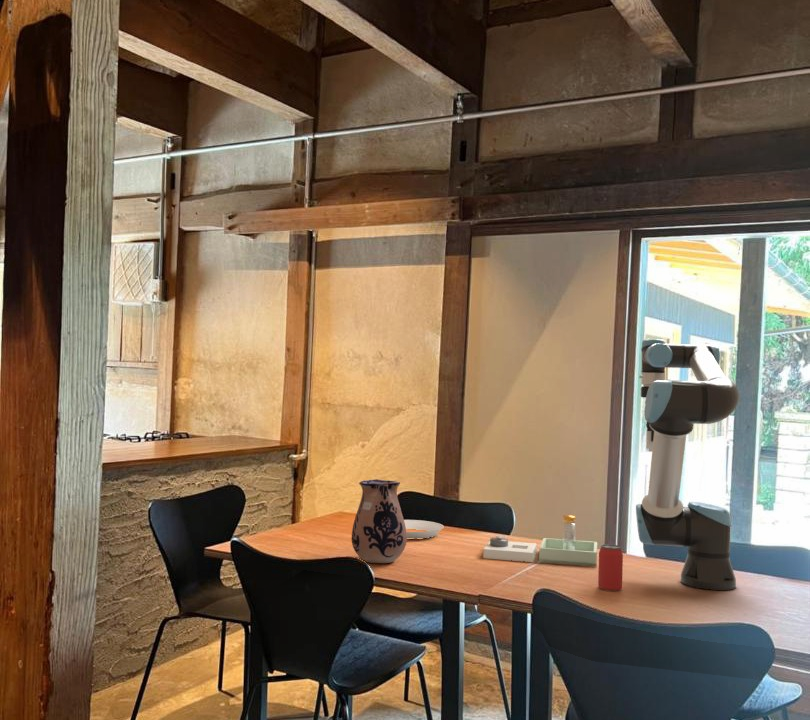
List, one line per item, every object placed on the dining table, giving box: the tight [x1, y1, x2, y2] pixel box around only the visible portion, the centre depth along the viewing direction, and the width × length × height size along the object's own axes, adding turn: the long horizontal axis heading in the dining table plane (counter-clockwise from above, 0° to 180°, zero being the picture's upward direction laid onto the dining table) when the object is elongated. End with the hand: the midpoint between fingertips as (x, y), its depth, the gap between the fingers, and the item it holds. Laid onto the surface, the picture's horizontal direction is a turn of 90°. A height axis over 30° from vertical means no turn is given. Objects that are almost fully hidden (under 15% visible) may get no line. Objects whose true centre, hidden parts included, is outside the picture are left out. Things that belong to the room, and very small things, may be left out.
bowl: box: [404, 519, 444, 539], centre depth 296 cm, size 25×25×4 cm
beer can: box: [597, 543, 624, 592], centre depth 224 cm, size 7×7×12 cm
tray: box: [538, 537, 598, 567], centre depth 262 cm, size 18×18×4 cm
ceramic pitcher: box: [351, 478, 408, 564], centre depth 253 cm, size 18×21×25 cm
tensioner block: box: [482, 535, 538, 563], centre depth 265 cm, size 16×16×6 cm
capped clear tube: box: [562, 514, 577, 550], centre depth 262 cm, size 4×4×13 cm
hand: (651, 450), depth 262 cm, fingers open, 13 cm apart
